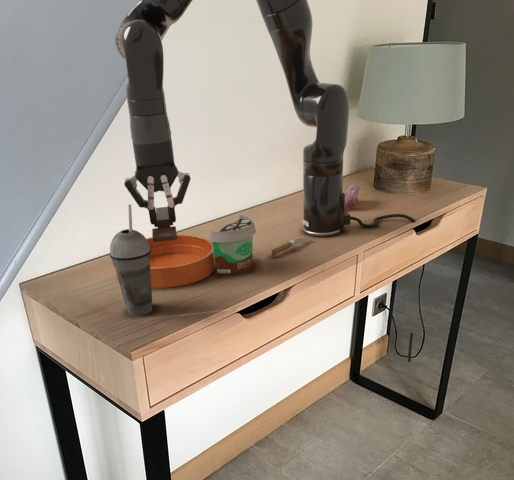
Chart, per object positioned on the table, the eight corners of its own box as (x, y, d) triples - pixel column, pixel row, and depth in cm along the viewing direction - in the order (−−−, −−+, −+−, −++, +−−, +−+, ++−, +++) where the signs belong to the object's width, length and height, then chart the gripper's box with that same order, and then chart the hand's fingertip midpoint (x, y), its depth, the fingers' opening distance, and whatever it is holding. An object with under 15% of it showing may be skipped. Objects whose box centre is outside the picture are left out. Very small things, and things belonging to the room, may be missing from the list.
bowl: (211, 249, 135) (209, 230, 133) (220, 283, 117) (219, 262, 115) (123, 258, 132) (120, 239, 130) (120, 294, 115) (116, 273, 113)
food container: (239, 283, 117) (235, 235, 112) (213, 278, 120) (209, 231, 115) (267, 262, 126) (266, 217, 121) (243, 258, 129) (240, 214, 124)
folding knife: (306, 240, 137) (306, 231, 136) (312, 241, 136) (312, 233, 135) (269, 257, 129) (269, 248, 128) (274, 258, 128) (274, 250, 127)
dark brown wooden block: (174, 217, 127) (173, 206, 125) (177, 239, 114) (175, 226, 113) (152, 220, 126) (150, 208, 125) (153, 242, 114) (151, 229, 112)
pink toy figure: (349, 217, 155) (362, 194, 152) (334, 209, 155) (346, 186, 152) (351, 206, 164) (363, 184, 160) (337, 199, 164) (349, 176, 160)
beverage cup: (122, 304, 111) (104, 200, 101) (161, 301, 111) (145, 197, 101) (118, 321, 105) (97, 213, 95) (158, 318, 105) (142, 209, 95)
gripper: (113, 145, 107) (129, 234, 116) (188, 138, 109) (198, 227, 118) (116, 138, 114) (130, 223, 123) (186, 131, 115) (196, 216, 124)
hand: (163, 224), depth 120 cm, fingers closed on dark brown wooden block, 2 cm apart
